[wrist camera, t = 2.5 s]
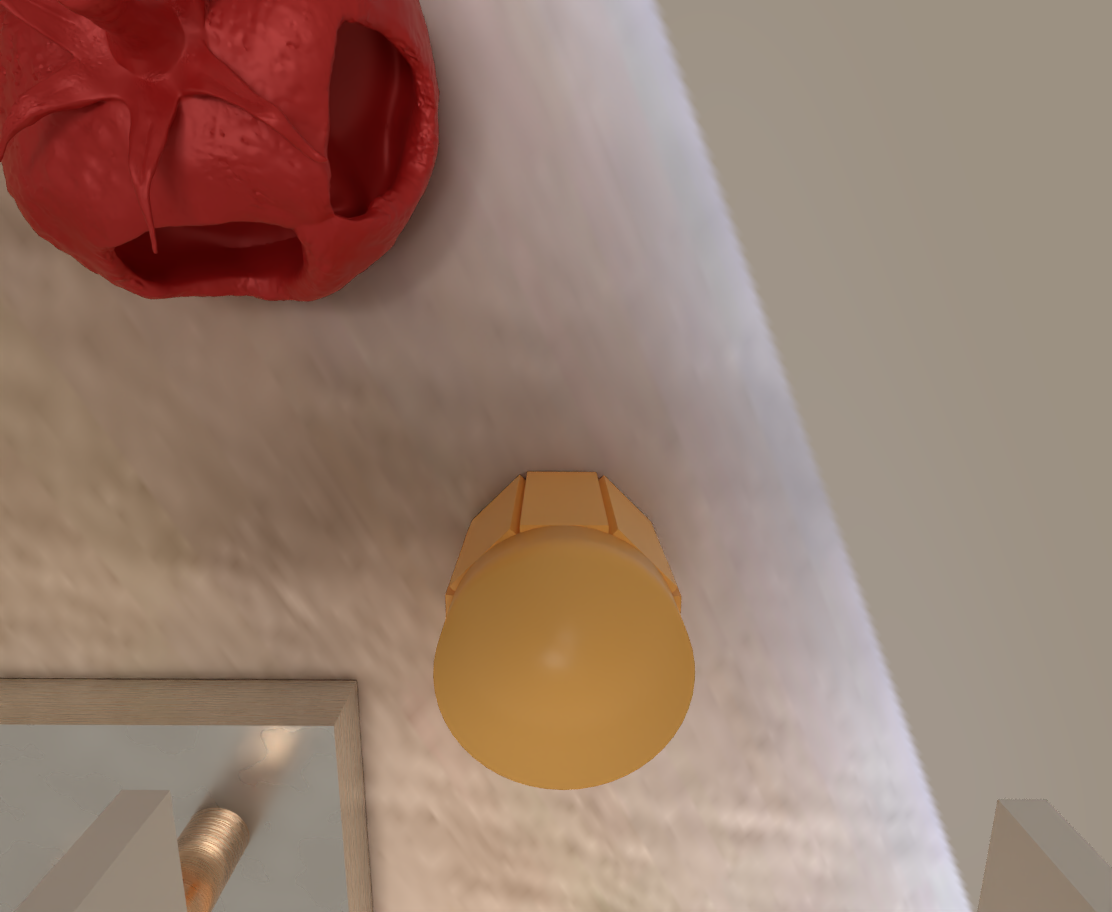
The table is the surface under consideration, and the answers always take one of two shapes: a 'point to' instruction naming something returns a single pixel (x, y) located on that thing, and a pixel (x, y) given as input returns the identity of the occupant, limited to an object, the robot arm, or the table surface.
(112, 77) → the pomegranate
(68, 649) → the table surface
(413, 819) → the table surface
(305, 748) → the plate
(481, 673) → the wire nut
